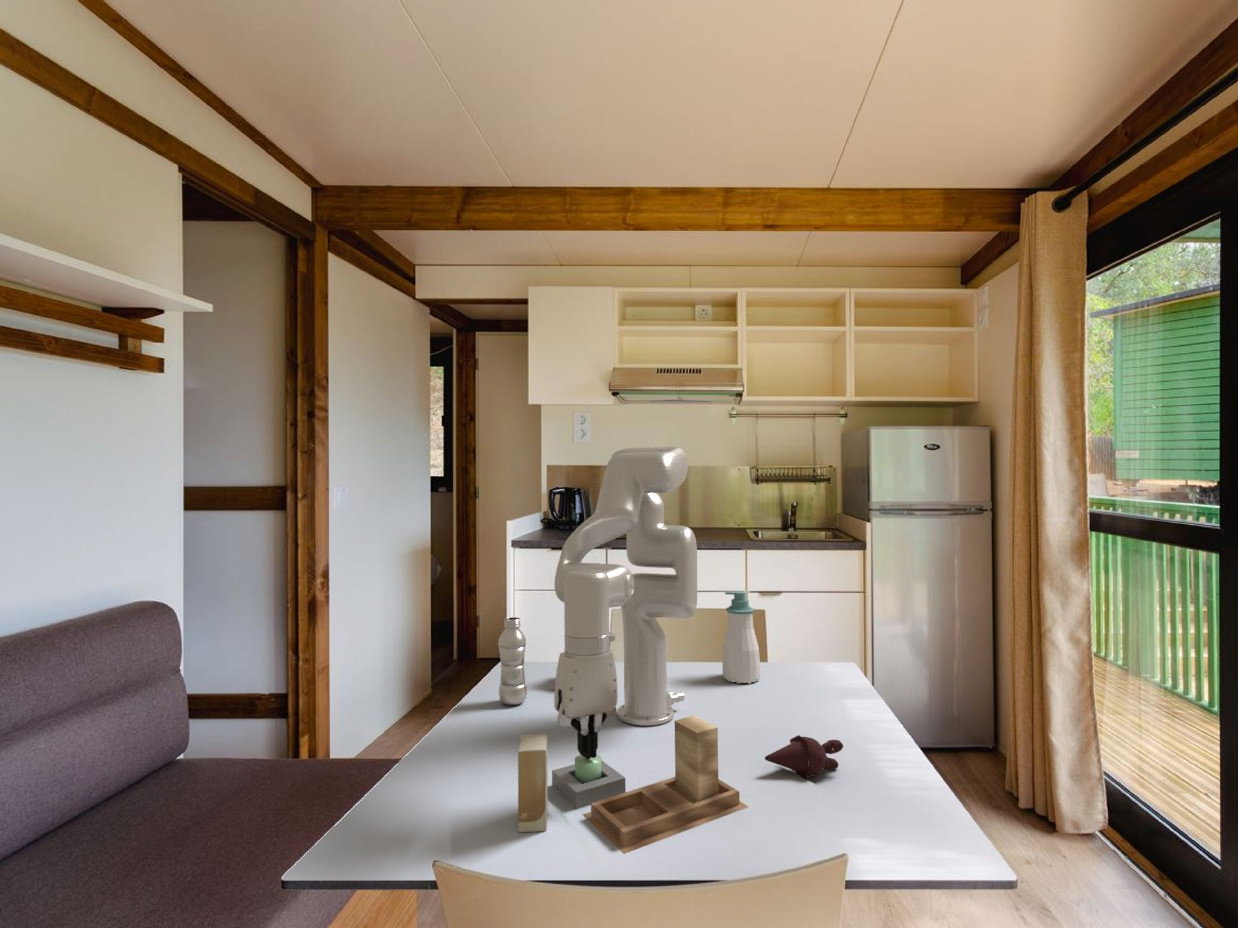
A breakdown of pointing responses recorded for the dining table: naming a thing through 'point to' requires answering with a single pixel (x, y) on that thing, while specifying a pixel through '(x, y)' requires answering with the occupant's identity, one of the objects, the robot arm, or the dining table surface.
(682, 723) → the block
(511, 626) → the plastic bottle
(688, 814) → the open wooden box
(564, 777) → the grey square holder
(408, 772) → the dining table surface
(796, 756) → the icecream
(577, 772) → the button
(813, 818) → the dining table surface
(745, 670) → the soap bottle
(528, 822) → the skincare box
